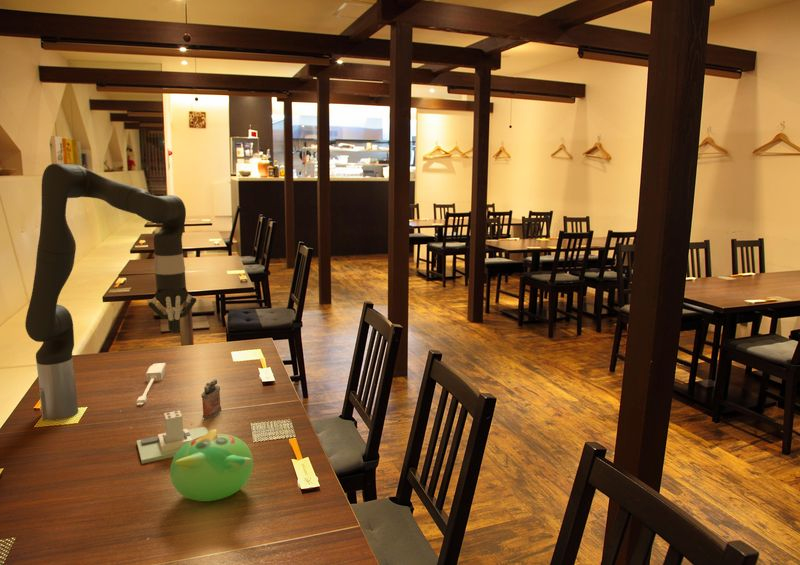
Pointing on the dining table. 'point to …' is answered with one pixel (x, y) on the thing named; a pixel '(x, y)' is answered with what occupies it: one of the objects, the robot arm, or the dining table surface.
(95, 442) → the dining table surface
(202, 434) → the board
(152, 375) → the charging cable
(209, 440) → the toy bird
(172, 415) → the plug
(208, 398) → the lighter
